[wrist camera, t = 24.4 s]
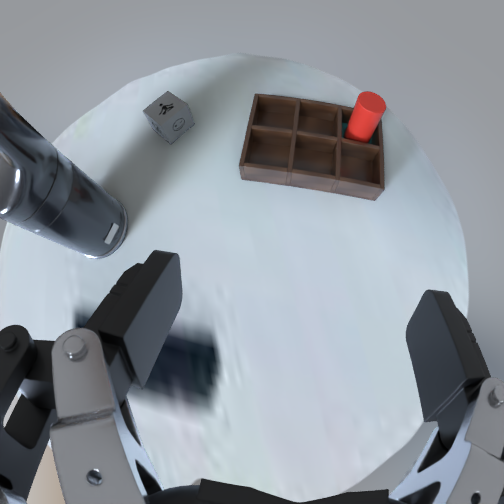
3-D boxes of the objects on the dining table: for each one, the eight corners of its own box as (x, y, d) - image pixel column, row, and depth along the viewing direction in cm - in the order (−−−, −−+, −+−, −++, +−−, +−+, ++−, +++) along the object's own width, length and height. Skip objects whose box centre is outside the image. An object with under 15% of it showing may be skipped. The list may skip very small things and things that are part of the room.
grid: (241, 179, 40) (238, 165, 37) (256, 109, 43) (254, 93, 39) (374, 201, 39) (384, 189, 35) (373, 128, 41) (381, 114, 38)
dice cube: (170, 144, 42) (160, 126, 38) (152, 129, 43) (142, 111, 38) (194, 123, 43) (187, 104, 38) (176, 109, 44) (167, 90, 39)
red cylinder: (343, 146, 40) (358, 109, 31) (343, 126, 41) (357, 88, 32) (367, 151, 40) (387, 116, 31) (367, 131, 41) (384, 95, 32)
